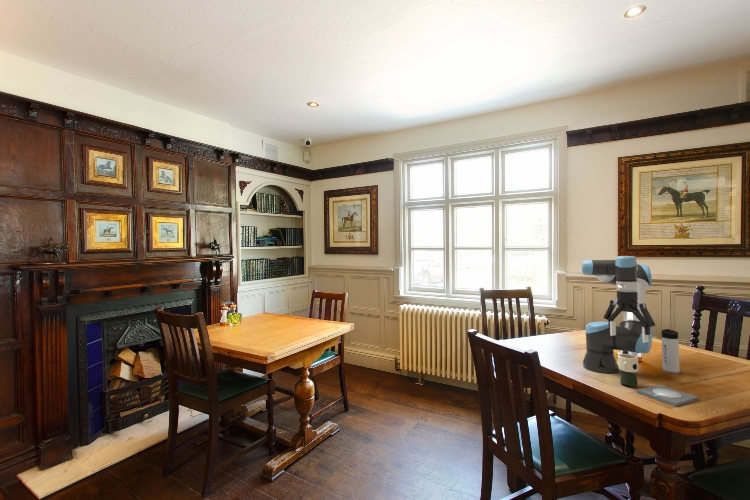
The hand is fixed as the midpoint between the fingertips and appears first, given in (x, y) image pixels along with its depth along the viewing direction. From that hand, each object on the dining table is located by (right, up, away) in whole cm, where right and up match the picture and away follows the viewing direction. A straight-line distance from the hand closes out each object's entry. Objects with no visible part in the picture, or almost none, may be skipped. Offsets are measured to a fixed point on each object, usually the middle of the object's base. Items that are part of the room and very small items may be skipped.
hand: (628, 338), depth 151 cm
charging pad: (+7, -20, -12) cm, 25 cm away
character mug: (0, -21, 0) cm, 21 cm away
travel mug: (+31, -20, +14) cm, 40 cm away
